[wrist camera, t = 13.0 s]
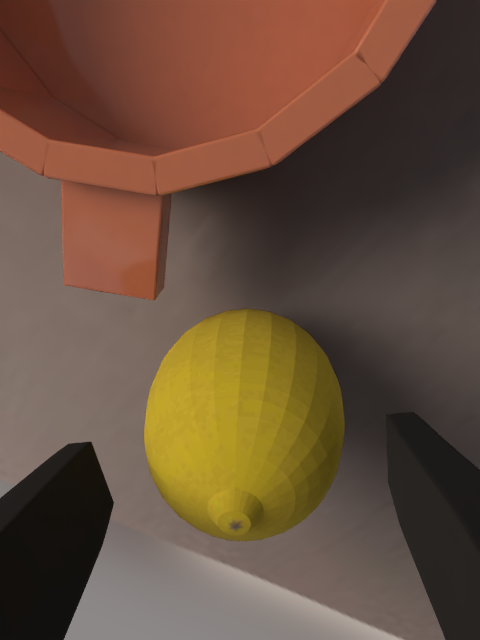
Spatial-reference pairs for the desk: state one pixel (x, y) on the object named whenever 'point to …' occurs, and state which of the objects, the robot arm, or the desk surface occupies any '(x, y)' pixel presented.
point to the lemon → (244, 425)
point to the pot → (175, 105)
